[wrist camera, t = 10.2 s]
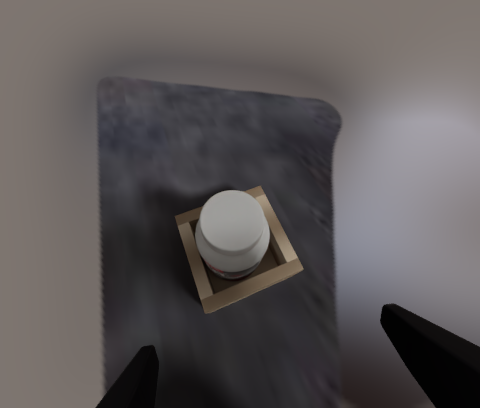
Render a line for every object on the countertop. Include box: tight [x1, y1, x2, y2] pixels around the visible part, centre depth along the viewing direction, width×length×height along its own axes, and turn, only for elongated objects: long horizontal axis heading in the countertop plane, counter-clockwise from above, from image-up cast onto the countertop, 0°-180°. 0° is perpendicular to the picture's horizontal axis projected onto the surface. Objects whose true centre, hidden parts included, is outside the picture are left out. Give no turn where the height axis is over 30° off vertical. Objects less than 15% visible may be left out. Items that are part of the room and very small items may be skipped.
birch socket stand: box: [175, 186, 303, 313], centre depth 21 cm, size 8×8×4 cm
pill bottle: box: [195, 190, 270, 282], centre depth 18 cm, size 5×5×10 cm
